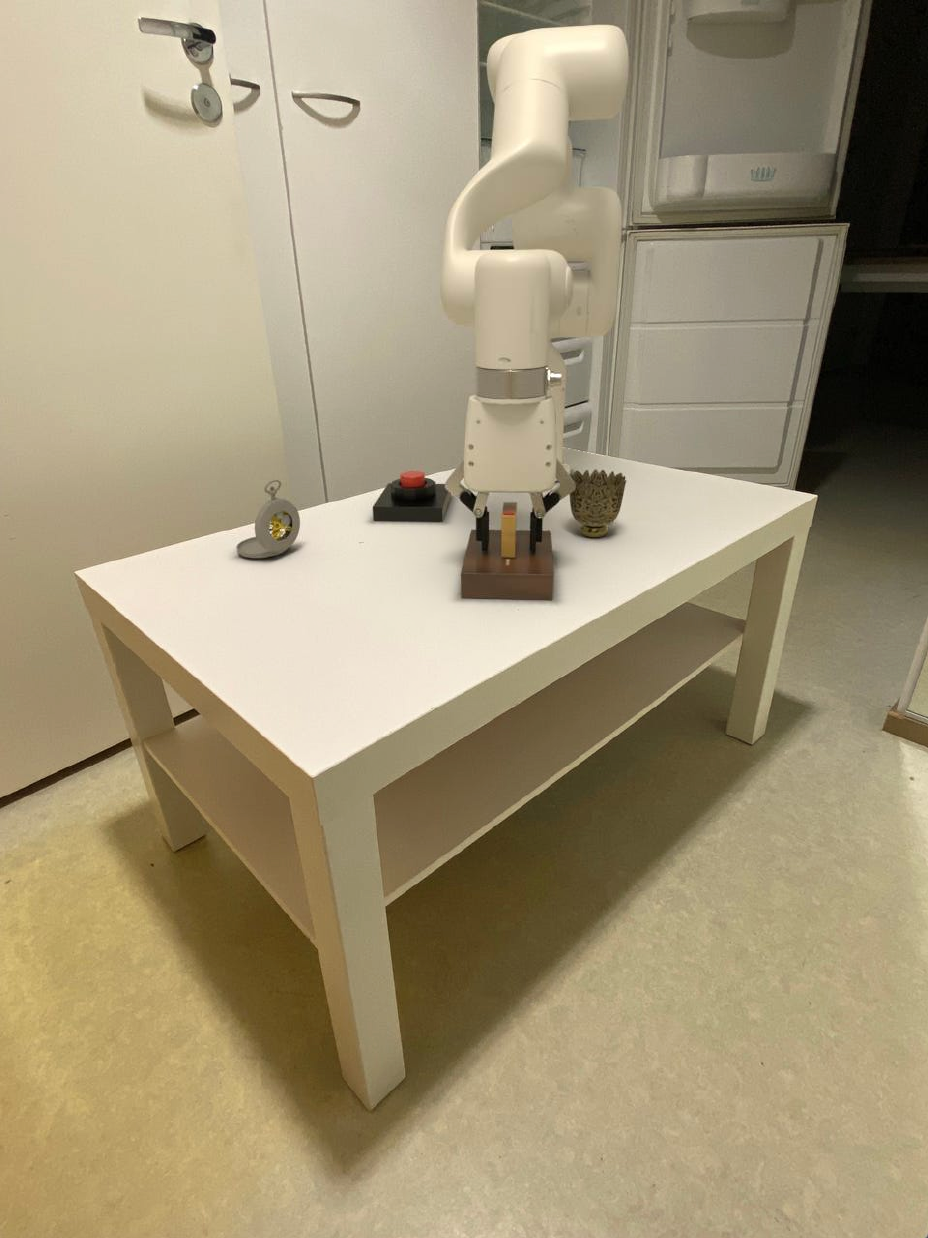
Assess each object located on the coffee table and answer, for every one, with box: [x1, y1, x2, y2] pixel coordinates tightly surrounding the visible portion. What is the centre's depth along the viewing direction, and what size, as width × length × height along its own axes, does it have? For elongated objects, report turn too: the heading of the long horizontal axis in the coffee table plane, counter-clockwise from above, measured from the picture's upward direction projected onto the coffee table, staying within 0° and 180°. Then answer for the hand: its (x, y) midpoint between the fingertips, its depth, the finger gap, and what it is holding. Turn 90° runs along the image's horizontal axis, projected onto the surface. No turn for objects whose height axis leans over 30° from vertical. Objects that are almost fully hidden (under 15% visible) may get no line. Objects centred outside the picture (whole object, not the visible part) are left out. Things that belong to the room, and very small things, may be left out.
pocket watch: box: [235, 479, 301, 559], centre depth 88 cm, size 8×8×10 cm
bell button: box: [399, 470, 426, 487], centre depth 104 cm, size 4×4×2 cm
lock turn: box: [500, 501, 518, 558], centre depth 81 cm, size 5×2×5 cm, turn 175°
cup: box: [569, 469, 627, 538], centre depth 93 cm, size 8×7×8 cm
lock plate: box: [460, 529, 554, 601], centre depth 83 cm, size 14×10×3 cm
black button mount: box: [372, 477, 452, 523], centre depth 105 cm, size 12×10×4 cm
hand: (509, 545), depth 82 cm, fingers open, 4 cm apart
